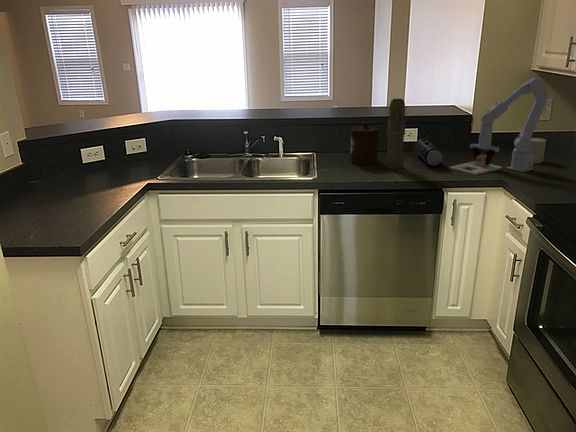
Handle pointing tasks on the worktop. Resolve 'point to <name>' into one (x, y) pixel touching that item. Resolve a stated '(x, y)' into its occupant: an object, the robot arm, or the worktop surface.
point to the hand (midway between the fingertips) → (482, 163)
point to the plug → (481, 161)
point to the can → (537, 149)
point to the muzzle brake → (428, 152)
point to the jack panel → (475, 168)
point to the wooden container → (364, 144)
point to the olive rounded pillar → (396, 135)
